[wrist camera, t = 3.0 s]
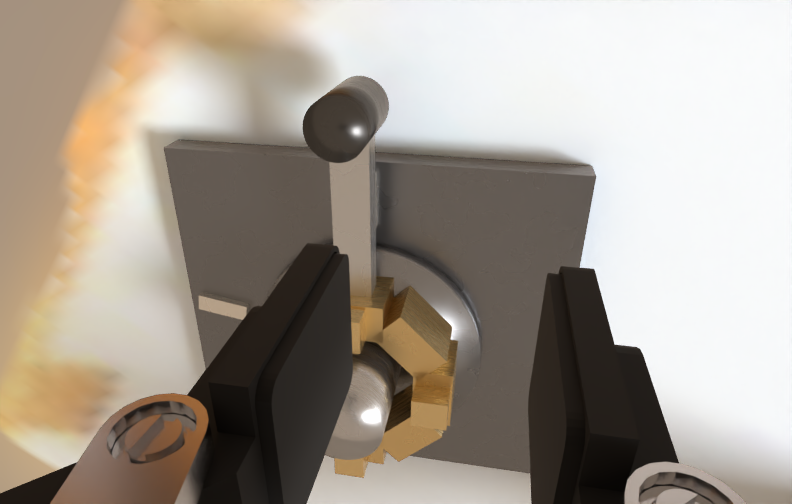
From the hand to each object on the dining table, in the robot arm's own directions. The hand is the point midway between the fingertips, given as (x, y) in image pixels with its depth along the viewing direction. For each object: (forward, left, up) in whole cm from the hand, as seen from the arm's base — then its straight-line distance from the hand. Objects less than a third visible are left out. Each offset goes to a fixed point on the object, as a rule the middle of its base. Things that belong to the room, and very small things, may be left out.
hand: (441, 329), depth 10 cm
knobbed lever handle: (-9, +5, -17) cm, 20 cm away
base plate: (-13, +5, -19) cm, 24 cm away
